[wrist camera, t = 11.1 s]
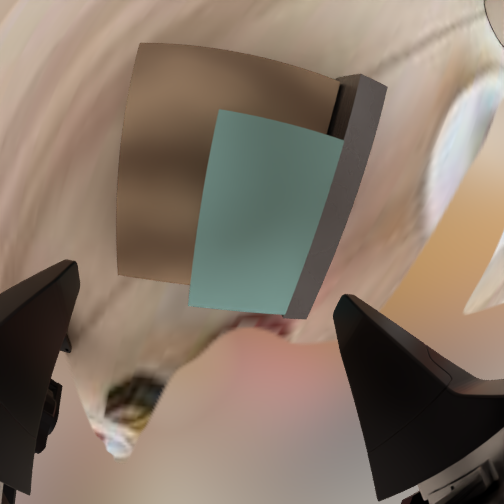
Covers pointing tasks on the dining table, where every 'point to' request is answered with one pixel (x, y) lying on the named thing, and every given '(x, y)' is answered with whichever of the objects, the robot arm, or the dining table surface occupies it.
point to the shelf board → (193, 142)
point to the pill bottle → (496, 17)
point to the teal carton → (259, 212)
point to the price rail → (340, 181)
